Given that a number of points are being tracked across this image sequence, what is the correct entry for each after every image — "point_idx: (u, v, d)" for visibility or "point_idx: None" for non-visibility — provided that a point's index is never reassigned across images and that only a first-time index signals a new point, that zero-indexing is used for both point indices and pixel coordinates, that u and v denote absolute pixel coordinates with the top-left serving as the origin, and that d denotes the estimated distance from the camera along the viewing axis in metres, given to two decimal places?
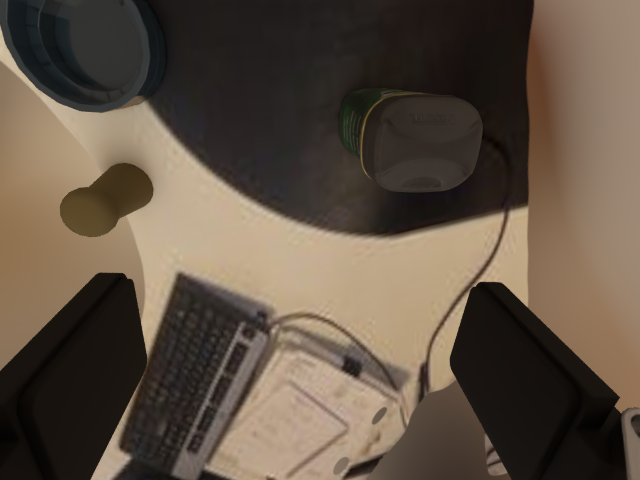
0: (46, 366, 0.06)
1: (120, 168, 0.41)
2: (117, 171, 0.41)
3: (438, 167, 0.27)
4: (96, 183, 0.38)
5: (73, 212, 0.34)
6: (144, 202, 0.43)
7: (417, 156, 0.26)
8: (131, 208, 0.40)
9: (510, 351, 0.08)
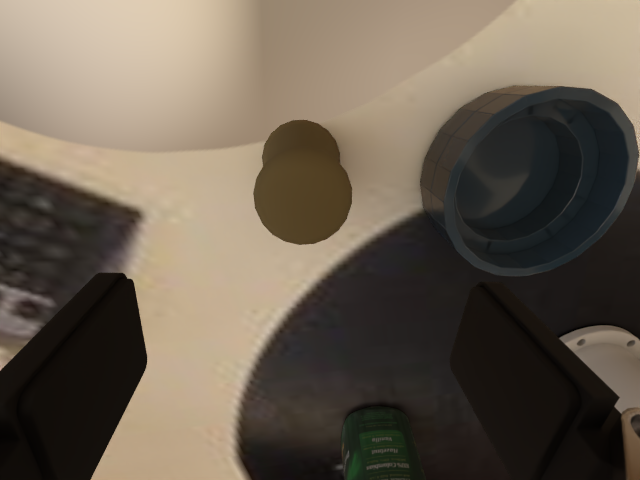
0: (46, 366, 0.06)
1: None
2: None
3: None
4: None
5: (317, 195, 0.17)
6: None
7: None
8: None
9: (510, 351, 0.08)
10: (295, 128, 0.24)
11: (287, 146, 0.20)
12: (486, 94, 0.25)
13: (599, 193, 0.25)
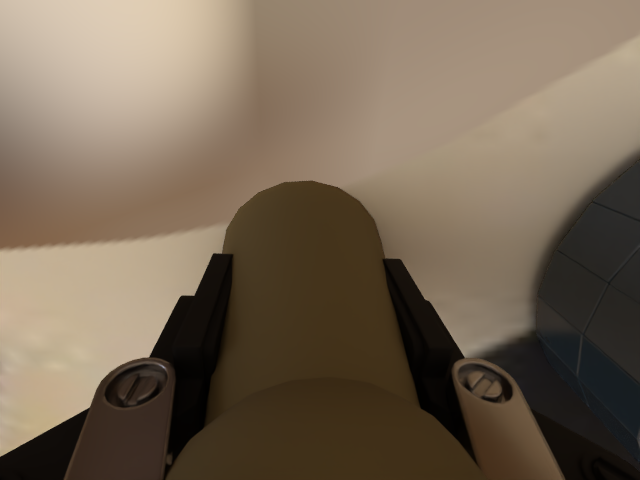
0: (212, 322, 0.07)
1: None
2: None
3: None
4: None
5: None
6: None
7: None
8: None
9: None
10: (290, 213, 0.10)
11: (267, 308, 0.07)
12: None
13: None
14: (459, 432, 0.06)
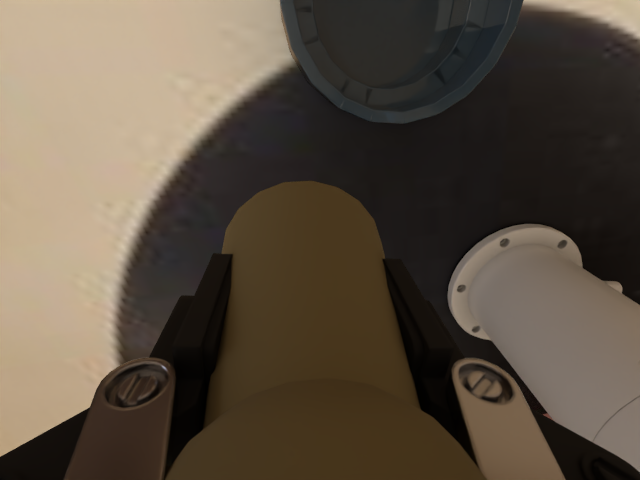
0: (212, 322, 0.07)
1: None
2: None
3: None
4: None
5: None
6: None
7: None
8: None
9: None
10: (290, 213, 0.10)
11: (266, 309, 0.07)
12: None
13: (493, 12, 0.20)
14: (459, 432, 0.06)
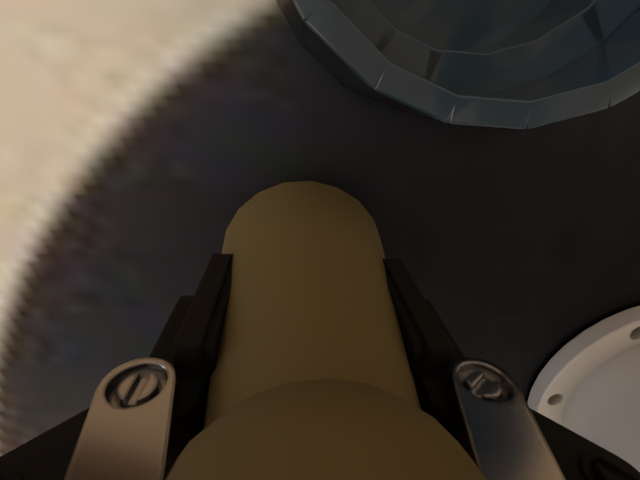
0: (212, 322, 0.07)
1: None
2: None
3: None
4: None
5: None
6: None
7: None
8: None
9: None
10: (290, 213, 0.10)
11: (266, 309, 0.07)
12: None
13: None
14: (459, 432, 0.06)
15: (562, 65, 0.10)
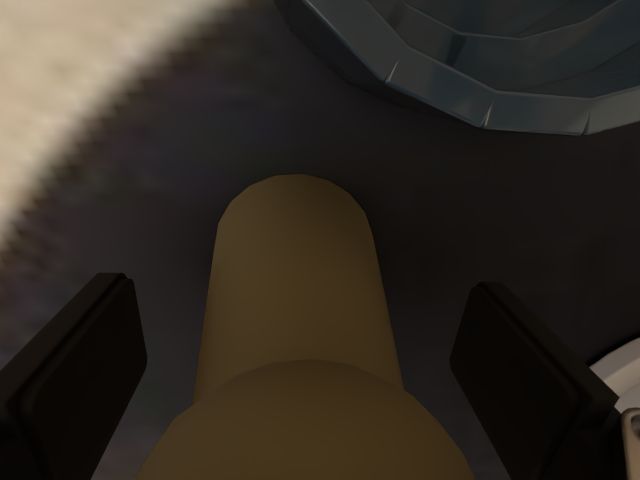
0: (46, 366, 0.06)
1: None
2: None
3: None
4: (395, 355, 0.08)
5: None
6: None
7: None
8: None
9: (510, 351, 0.08)
10: (280, 204, 0.10)
11: (253, 295, 0.07)
12: None
13: None
14: None
15: (614, 53, 0.08)
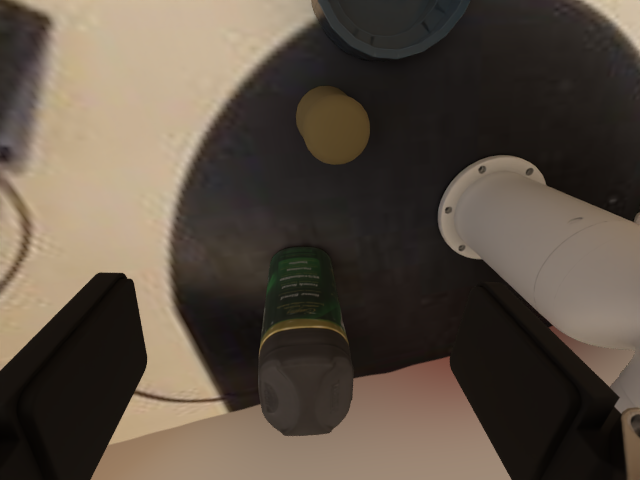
0: (46, 366, 0.06)
1: None
2: None
3: (290, 412, 0.27)
4: None
5: (348, 125, 0.25)
6: None
7: (301, 397, 0.26)
8: None
9: (510, 351, 0.08)
10: (323, 90, 0.32)
11: None
12: None
13: None
14: None
15: (417, 40, 0.30)
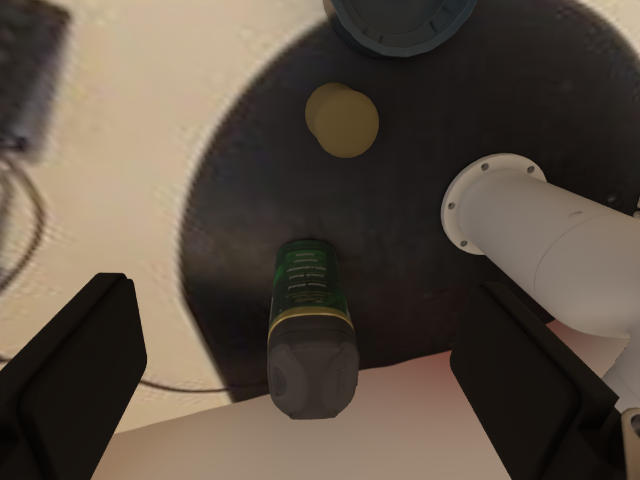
0: (46, 366, 0.06)
1: None
2: None
3: (297, 396, 0.28)
4: None
5: (358, 119, 0.26)
6: None
7: (309, 381, 0.27)
8: None
9: (510, 351, 0.08)
10: (332, 86, 0.33)
11: None
12: None
13: None
14: None
15: (424, 39, 0.31)
